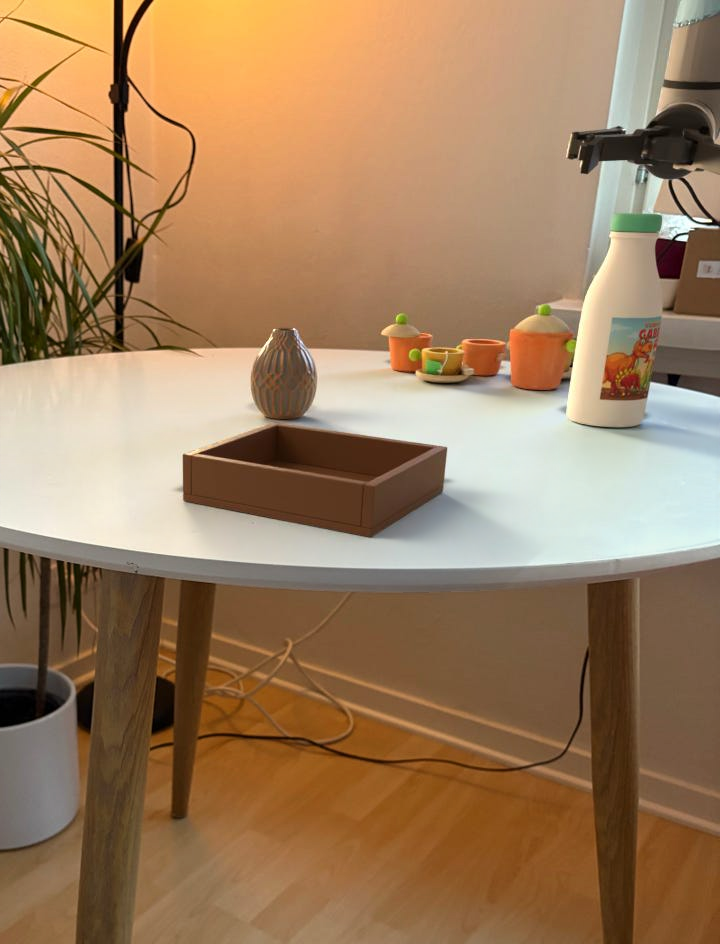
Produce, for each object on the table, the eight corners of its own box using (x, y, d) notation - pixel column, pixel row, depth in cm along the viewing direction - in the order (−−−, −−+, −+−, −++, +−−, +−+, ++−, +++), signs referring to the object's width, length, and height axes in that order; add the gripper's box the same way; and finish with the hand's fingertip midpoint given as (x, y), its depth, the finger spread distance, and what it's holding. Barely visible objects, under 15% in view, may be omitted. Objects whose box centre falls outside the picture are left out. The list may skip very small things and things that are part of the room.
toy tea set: (581, 374, 130) (593, 297, 126) (585, 395, 117) (598, 309, 113) (385, 363, 137) (390, 289, 133) (366, 381, 123) (371, 300, 119)
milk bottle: (564, 425, 101) (596, 213, 92) (565, 411, 107) (595, 212, 99) (644, 431, 99) (684, 214, 90) (640, 416, 105) (677, 213, 97)
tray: (443, 491, 78) (447, 446, 76) (370, 537, 67) (374, 486, 66) (272, 463, 85) (273, 422, 84) (182, 500, 75) (182, 454, 73)
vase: (236, 414, 104) (237, 327, 100) (284, 406, 108) (287, 323, 104) (280, 425, 99) (283, 335, 96) (329, 417, 103) (333, 330, 100)
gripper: (781, 188, 112) (777, 225, 97) (561, 161, 121) (524, 191, 105) (806, 115, 108) (805, 140, 92) (576, 92, 116) (539, 112, 100)
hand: (656, 167), depth 99 cm, fingers open, 13 cm apart
